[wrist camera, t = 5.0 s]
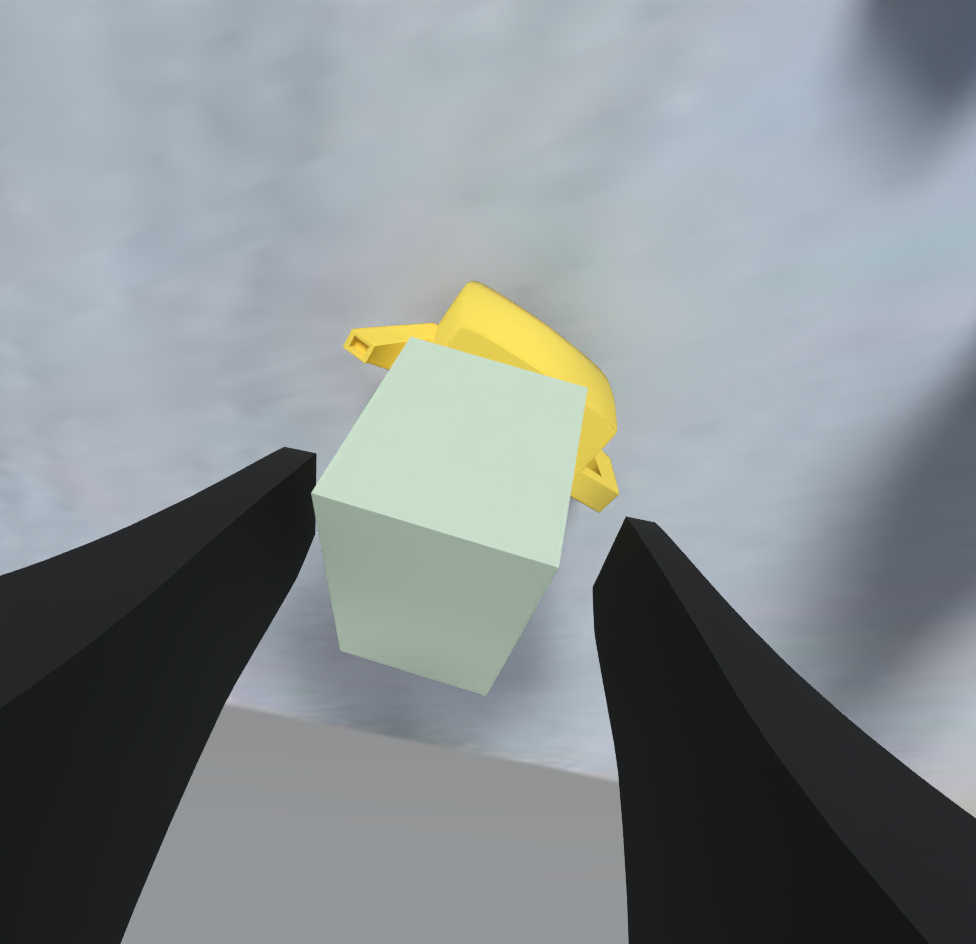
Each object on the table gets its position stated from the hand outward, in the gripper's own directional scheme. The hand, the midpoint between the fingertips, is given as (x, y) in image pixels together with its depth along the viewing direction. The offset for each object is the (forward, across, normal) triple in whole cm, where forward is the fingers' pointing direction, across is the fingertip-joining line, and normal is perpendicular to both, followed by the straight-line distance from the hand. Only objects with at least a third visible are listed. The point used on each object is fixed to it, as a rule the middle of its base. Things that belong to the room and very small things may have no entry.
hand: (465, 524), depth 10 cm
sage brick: (+2, 0, 0) cm, 2 cm away
